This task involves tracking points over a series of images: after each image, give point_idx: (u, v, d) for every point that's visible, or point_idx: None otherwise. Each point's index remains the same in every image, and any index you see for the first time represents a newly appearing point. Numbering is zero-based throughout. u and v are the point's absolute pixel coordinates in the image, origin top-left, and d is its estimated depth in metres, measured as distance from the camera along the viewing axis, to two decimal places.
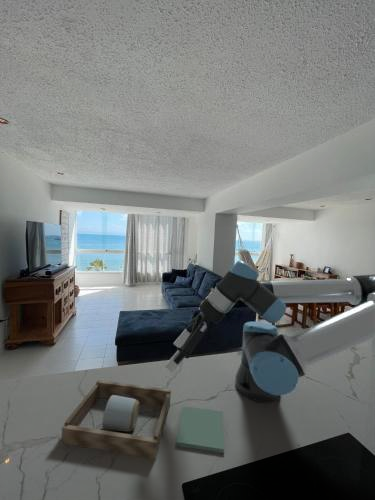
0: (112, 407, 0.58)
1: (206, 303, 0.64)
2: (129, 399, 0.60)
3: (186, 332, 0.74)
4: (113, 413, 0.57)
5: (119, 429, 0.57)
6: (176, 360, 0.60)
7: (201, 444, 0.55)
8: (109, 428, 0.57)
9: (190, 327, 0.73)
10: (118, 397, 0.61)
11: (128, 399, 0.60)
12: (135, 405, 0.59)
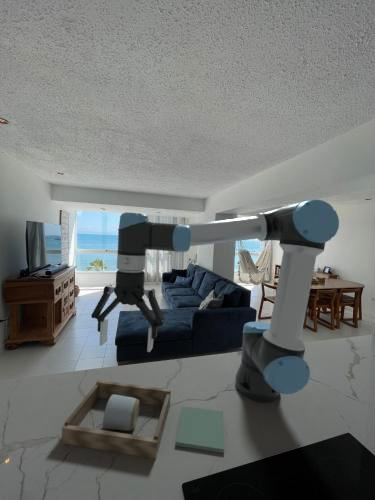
0: (112, 406, 0.58)
1: (134, 276, 0.56)
2: (129, 398, 0.61)
3: (104, 322, 0.61)
4: (113, 412, 0.57)
5: (119, 428, 0.57)
6: (156, 335, 0.59)
7: (201, 444, 0.55)
8: (109, 427, 0.57)
9: (107, 314, 0.60)
10: (118, 396, 0.61)
11: (128, 398, 0.61)
12: (135, 404, 0.59)
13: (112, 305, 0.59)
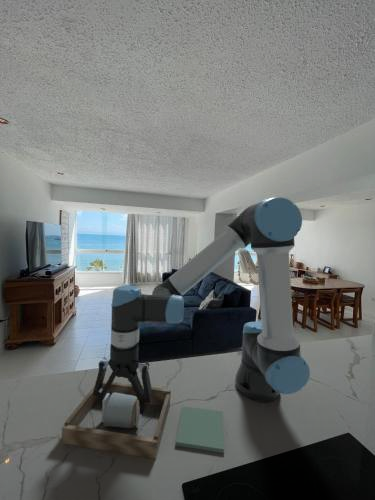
0: (113, 404, 0.59)
1: (128, 352, 0.57)
2: (130, 396, 0.61)
3: (106, 399, 0.61)
4: (114, 410, 0.58)
5: (120, 426, 0.58)
6: (144, 410, 0.60)
7: (201, 444, 0.55)
8: (110, 425, 0.58)
9: (107, 389, 0.61)
10: (119, 394, 0.62)
11: (129, 396, 0.61)
12: (136, 402, 0.60)
13: (110, 380, 0.60)
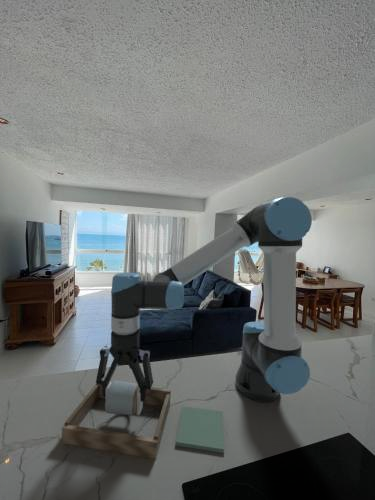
0: (114, 391, 0.59)
1: (129, 338, 0.57)
2: (131, 384, 0.61)
3: None
4: (115, 397, 0.58)
5: (121, 412, 0.58)
6: (145, 397, 0.60)
7: (201, 444, 0.55)
8: (112, 411, 0.58)
9: (110, 377, 0.61)
10: (120, 382, 0.62)
11: (130, 384, 0.61)
12: (137, 389, 0.60)
13: (112, 368, 0.60)
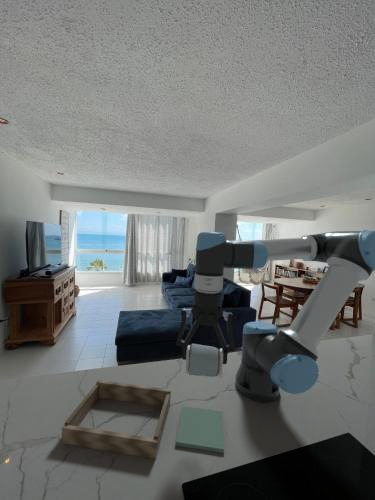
0: (197, 352, 0.57)
1: (216, 297, 0.55)
2: (210, 346, 0.60)
3: (189, 350, 0.59)
4: (200, 357, 0.56)
5: (206, 373, 0.56)
6: None
7: (201, 444, 0.55)
8: (196, 372, 0.56)
9: (190, 339, 0.59)
10: (199, 345, 0.60)
11: (210, 346, 0.60)
12: (219, 351, 0.58)
13: (194, 329, 0.58)
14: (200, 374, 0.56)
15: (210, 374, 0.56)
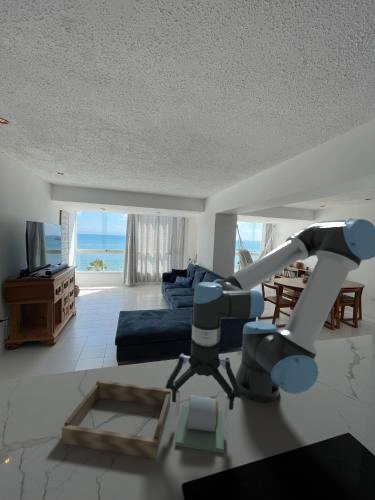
0: (195, 406, 0.58)
1: (213, 350, 0.56)
2: (209, 399, 0.60)
3: (179, 392, 0.60)
4: (198, 412, 0.57)
5: (204, 429, 0.57)
6: None
7: (201, 444, 0.55)
8: (194, 427, 0.57)
9: None
10: (198, 397, 0.61)
11: (208, 399, 0.60)
12: (217, 405, 0.59)
13: (188, 376, 0.59)
14: (198, 429, 0.57)
15: (208, 429, 0.57)
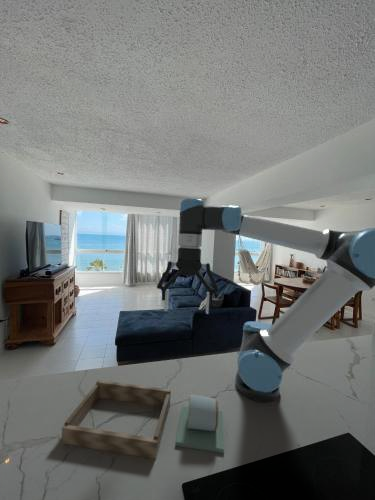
0: (196, 406, 0.58)
1: (196, 251, 0.68)
2: (209, 398, 0.60)
3: (167, 292, 0.72)
4: (198, 412, 0.57)
5: (204, 428, 0.57)
6: None
7: (201, 444, 0.55)
8: (194, 427, 0.57)
9: None
10: (198, 396, 0.61)
11: (208, 398, 0.60)
12: (217, 405, 0.59)
13: (175, 277, 0.71)
14: (198, 429, 0.57)
15: (208, 429, 0.57)
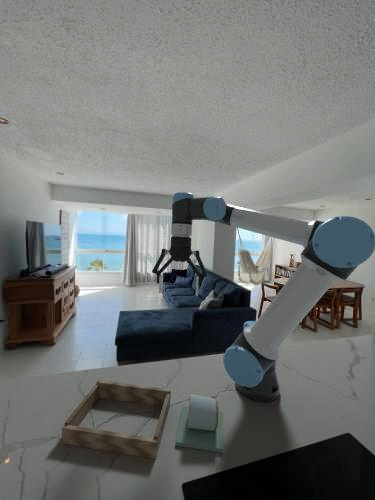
0: (196, 406, 0.58)
1: (186, 239, 0.77)
2: (209, 398, 0.61)
3: (161, 276, 0.81)
4: (198, 412, 0.57)
5: (204, 428, 0.57)
6: (201, 284, 0.79)
7: (201, 444, 0.55)
8: (194, 427, 0.57)
9: (163, 270, 0.81)
10: (198, 396, 0.61)
11: (208, 398, 0.60)
12: (217, 404, 0.59)
13: (168, 262, 0.80)
14: (198, 428, 0.57)
15: (208, 429, 0.57)
